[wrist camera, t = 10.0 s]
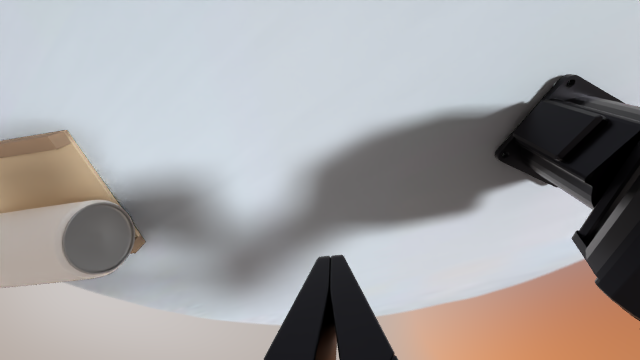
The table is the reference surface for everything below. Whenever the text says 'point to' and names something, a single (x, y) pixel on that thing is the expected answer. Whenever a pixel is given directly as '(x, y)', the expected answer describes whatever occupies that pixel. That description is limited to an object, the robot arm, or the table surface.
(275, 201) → the table surface
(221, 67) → the table surface
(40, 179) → the wooden tray
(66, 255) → the can
